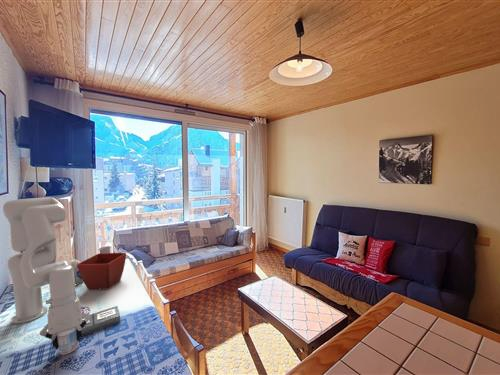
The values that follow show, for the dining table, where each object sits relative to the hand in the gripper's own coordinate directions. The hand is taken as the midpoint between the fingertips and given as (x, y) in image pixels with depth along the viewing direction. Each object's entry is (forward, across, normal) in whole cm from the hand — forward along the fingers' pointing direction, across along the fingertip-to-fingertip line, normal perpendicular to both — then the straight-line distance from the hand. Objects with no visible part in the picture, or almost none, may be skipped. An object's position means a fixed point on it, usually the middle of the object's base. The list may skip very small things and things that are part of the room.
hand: (68, 342), depth 90 cm
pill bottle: (+3, 0, 0) cm, 3 cm away
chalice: (+3, +18, +73) cm, 75 cm away
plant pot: (+3, +16, +54) cm, 57 cm away
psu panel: (+3, +9, +11) cm, 14 cm away
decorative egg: (+3, +1, +70) cm, 71 cm away
